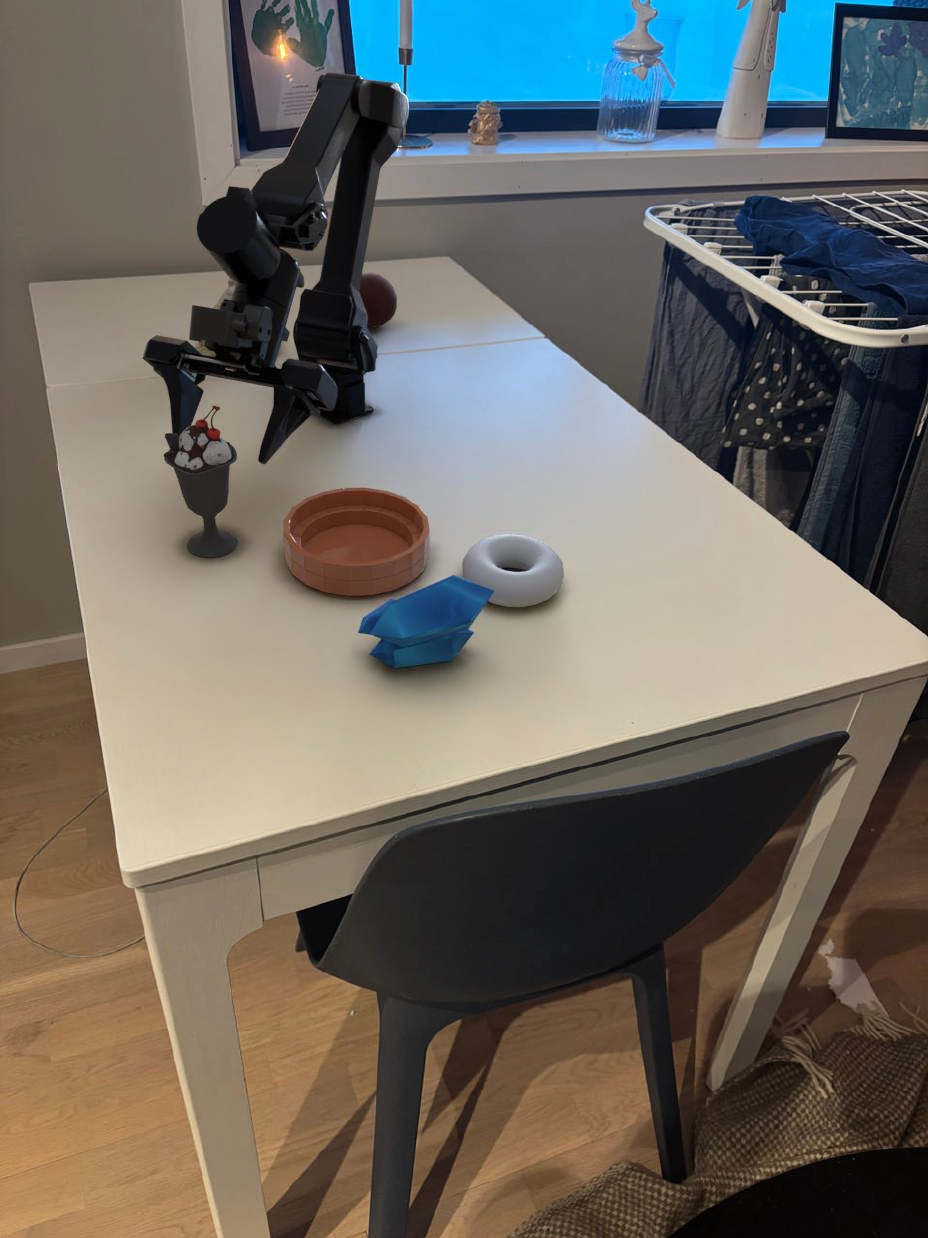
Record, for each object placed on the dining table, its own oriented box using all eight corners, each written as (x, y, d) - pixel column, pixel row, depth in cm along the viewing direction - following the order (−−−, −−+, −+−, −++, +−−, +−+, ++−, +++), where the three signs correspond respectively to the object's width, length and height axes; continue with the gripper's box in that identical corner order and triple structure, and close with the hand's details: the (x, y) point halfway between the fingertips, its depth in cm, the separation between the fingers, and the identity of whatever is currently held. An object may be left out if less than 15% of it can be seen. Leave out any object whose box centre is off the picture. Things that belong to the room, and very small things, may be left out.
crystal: (339, 581, 79) (472, 536, 81) (364, 653, 85) (486, 610, 87) (360, 634, 74) (501, 585, 75) (384, 707, 79) (515, 660, 81)
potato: (337, 332, 141) (336, 280, 136) (353, 311, 148) (352, 261, 144) (389, 338, 140) (390, 286, 136) (403, 317, 148) (404, 267, 143)
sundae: (259, 546, 95) (246, 408, 86) (201, 570, 91) (181, 429, 82) (223, 519, 98) (206, 385, 89) (166, 542, 95) (142, 403, 85)
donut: (443, 569, 94) (491, 624, 87) (444, 540, 92) (493, 594, 85) (529, 548, 98) (581, 599, 91) (532, 519, 95) (586, 569, 88)
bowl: (258, 551, 94) (254, 517, 92) (368, 506, 102) (368, 473, 100) (344, 618, 86) (342, 583, 84) (456, 564, 94) (458, 530, 92)
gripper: (136, 251, 88) (90, 408, 86) (321, 280, 84) (275, 445, 82) (190, 306, 98) (150, 447, 97) (356, 334, 95) (316, 481, 93)
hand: (218, 454), depth 92 cm, fingers open, 9 cm apart
